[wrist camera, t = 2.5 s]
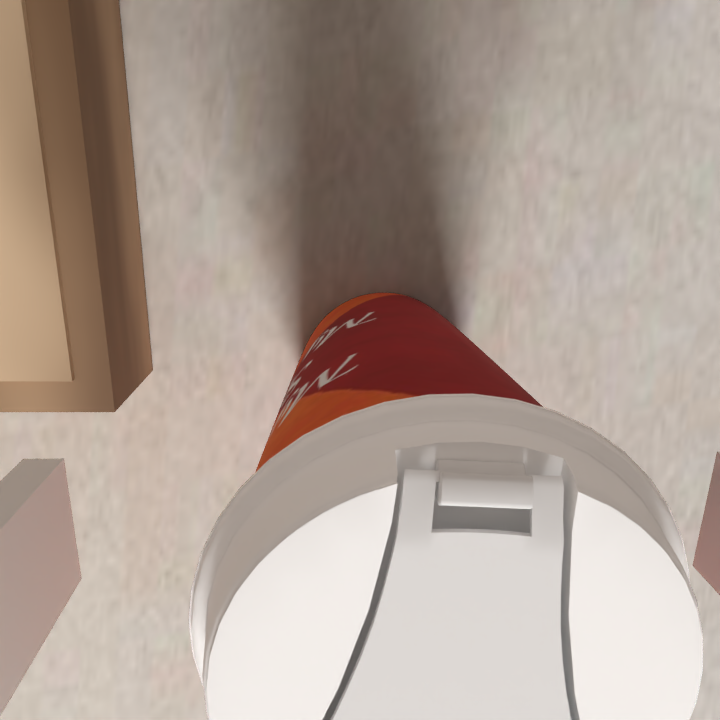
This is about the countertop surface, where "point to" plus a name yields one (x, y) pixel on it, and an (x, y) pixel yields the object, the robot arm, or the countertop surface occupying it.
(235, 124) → the countertop surface
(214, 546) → the paper cup
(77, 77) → the plinth
